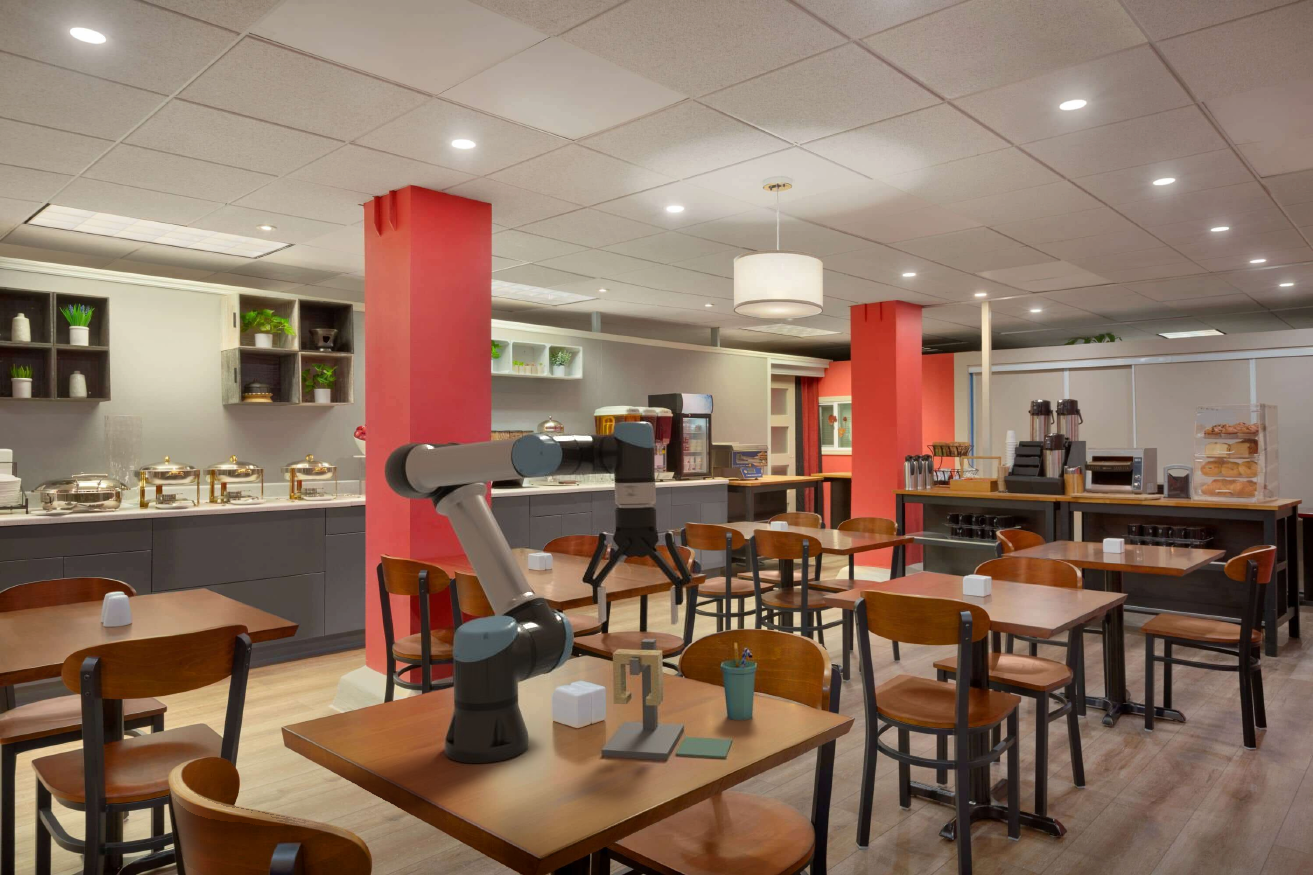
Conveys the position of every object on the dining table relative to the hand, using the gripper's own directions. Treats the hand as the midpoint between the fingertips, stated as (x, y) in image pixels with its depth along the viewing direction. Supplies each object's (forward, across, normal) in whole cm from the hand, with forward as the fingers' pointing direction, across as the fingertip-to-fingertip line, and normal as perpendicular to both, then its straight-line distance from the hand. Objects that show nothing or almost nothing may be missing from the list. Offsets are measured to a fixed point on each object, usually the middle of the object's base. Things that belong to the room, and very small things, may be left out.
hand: (638, 622), depth 151 cm
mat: (+23, +11, +3) cm, 26 cm away
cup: (+23, +16, +22) cm, 36 cm away
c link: (+14, 0, 0) cm, 14 cm away
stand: (+23, 0, +4) cm, 24 cm away
